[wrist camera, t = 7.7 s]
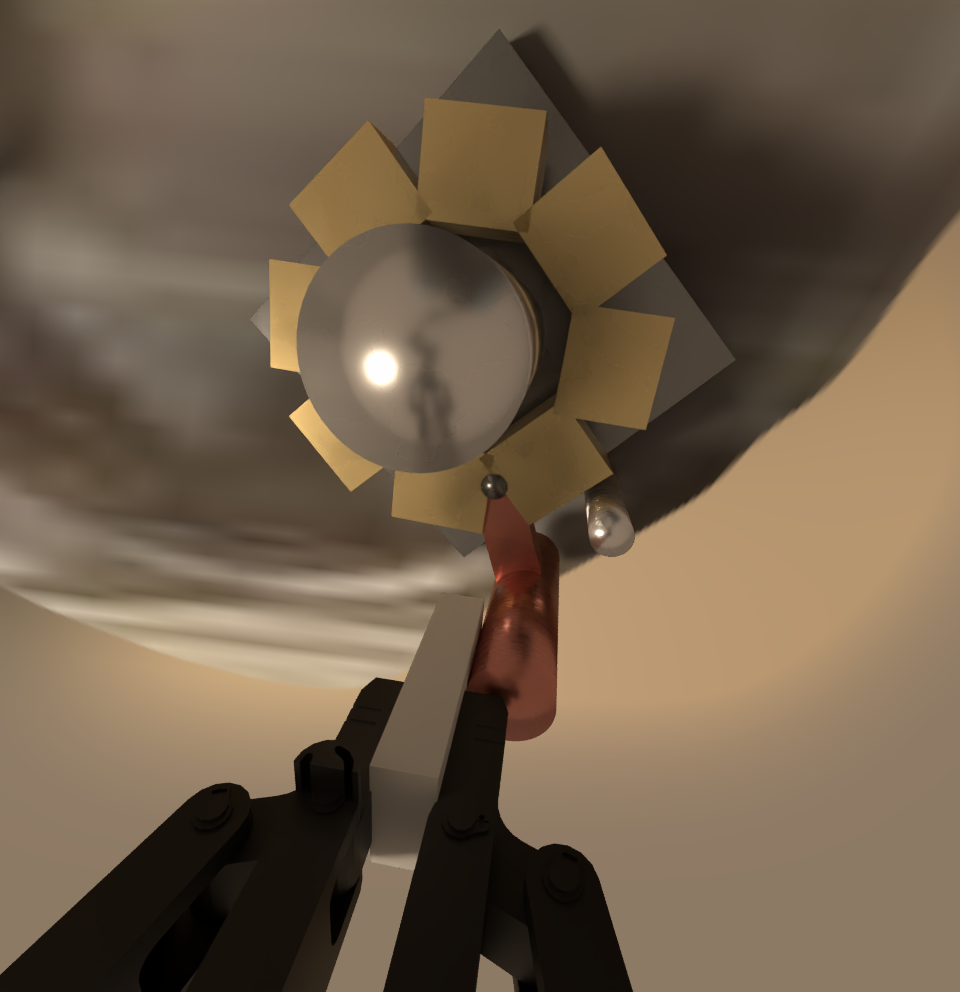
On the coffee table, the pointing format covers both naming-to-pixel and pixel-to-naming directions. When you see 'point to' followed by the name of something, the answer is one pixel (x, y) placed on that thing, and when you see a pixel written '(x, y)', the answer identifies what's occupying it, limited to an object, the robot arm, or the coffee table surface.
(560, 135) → the spindle base
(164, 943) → the robot arm
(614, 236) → the toothed crank wheel
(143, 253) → the coffee table surface
